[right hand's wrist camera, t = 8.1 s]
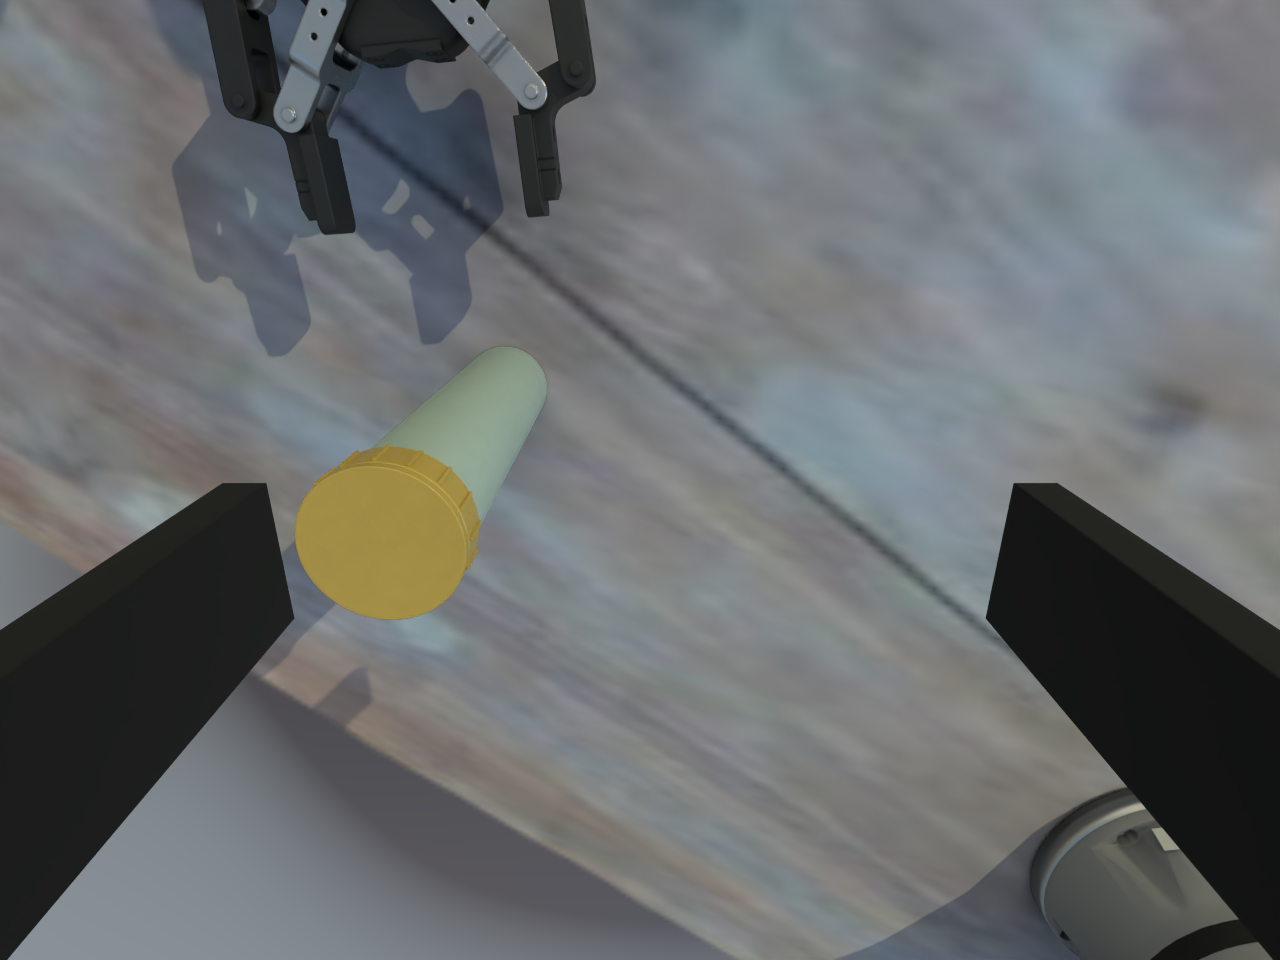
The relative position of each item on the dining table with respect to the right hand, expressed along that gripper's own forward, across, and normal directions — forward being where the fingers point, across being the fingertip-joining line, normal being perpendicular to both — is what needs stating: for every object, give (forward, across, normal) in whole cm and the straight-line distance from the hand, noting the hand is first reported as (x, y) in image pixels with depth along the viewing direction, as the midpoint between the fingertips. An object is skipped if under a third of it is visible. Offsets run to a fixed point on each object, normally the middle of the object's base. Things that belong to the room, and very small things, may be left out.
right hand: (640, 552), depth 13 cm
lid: (+7, -8, -3) cm, 11 cm away
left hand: (+20, -8, +5) cm, 23 cm away
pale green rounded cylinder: (+27, -7, -4) cm, 28 cm away
